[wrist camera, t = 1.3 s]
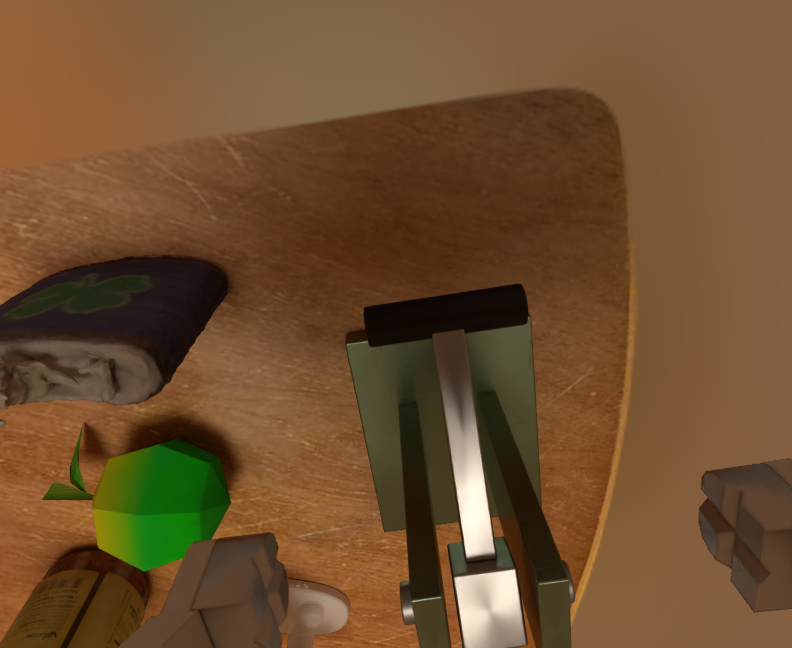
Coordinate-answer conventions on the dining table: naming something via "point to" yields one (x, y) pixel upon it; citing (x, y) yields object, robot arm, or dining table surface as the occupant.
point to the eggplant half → (105, 329)
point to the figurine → (313, 612)
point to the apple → (153, 501)
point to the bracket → (432, 478)
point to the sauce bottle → (82, 604)
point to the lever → (465, 451)
